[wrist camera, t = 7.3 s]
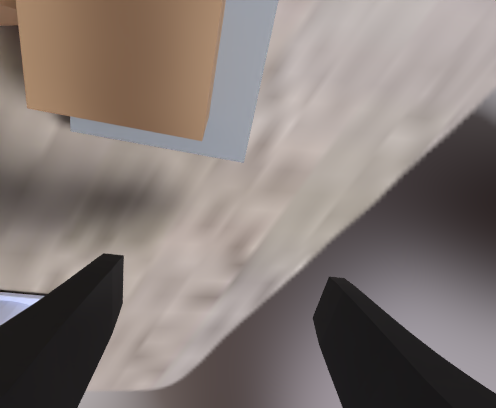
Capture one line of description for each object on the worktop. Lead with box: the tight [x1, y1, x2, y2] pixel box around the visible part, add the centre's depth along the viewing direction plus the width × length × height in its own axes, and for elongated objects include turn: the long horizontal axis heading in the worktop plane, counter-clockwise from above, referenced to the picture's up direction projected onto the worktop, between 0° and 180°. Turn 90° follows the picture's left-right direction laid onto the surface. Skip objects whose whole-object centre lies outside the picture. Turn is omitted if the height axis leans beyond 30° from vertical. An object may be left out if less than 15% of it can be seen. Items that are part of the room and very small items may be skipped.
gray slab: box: [70, 0, 278, 163], centre depth 14 cm, size 9×9×3 cm
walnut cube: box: [16, 0, 226, 141], centre depth 10 cm, size 5×5×6 cm
